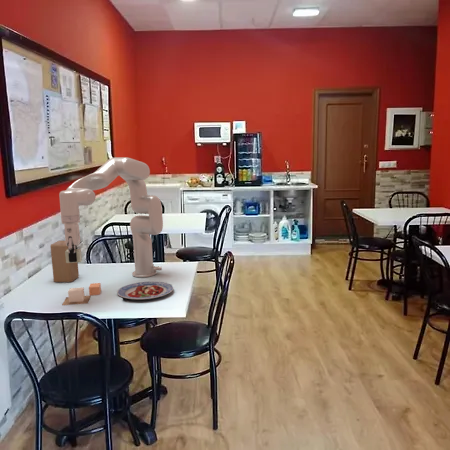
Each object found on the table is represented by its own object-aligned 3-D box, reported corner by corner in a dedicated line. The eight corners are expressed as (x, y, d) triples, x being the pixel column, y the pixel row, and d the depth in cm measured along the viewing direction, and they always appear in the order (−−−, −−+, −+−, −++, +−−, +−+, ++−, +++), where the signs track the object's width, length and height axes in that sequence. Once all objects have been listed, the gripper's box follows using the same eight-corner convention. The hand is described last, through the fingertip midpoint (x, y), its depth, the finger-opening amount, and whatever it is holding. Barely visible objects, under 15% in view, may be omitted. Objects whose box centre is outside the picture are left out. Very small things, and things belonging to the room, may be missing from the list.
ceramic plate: (129, 285, 237) (129, 279, 237) (179, 286, 233) (179, 280, 233) (108, 302, 212) (107, 296, 212) (164, 304, 208) (164, 297, 208)
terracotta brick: (91, 293, 225) (90, 283, 224) (101, 293, 226) (100, 282, 225) (89, 297, 219) (88, 287, 218) (99, 297, 220) (99, 286, 219)
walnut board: (91, 297, 219) (91, 295, 218) (88, 305, 208) (88, 303, 208) (66, 299, 217) (66, 297, 217) (62, 307, 206) (61, 305, 206)
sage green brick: (81, 259, 212) (81, 248, 211) (80, 262, 207) (79, 250, 207) (67, 260, 211) (66, 249, 210) (66, 263, 207) (65, 251, 206)
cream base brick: (84, 298, 215) (83, 287, 214) (83, 301, 211) (82, 290, 210) (70, 299, 214) (69, 288, 213) (69, 302, 210) (68, 291, 209)
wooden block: (79, 277, 253) (76, 240, 250) (71, 282, 244) (68, 244, 240) (61, 277, 254) (58, 240, 251) (53, 282, 245) (49, 244, 241)
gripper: (76, 221, 198) (80, 264, 201) (82, 215, 215) (85, 255, 218) (57, 222, 197) (61, 265, 200) (64, 216, 214) (68, 256, 217)
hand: (74, 260), depth 209 cm, fingers closed on sage green brick, 4 cm apart
